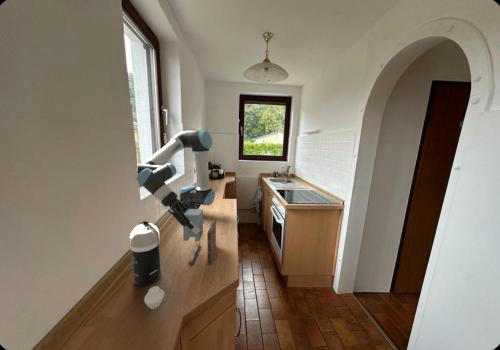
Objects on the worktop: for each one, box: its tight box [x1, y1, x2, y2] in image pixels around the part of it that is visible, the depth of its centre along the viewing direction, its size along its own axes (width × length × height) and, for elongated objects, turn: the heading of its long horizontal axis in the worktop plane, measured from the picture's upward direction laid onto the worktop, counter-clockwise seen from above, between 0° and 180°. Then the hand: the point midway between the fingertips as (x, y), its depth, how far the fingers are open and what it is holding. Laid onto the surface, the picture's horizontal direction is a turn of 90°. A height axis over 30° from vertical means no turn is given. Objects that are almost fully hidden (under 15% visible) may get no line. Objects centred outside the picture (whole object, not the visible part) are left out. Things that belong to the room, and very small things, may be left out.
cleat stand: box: [188, 218, 217, 266], centre depth 92 cm, size 16×10×16 cm, turn 2°
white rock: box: [143, 285, 165, 310], centre depth 63 cm, size 6×6×7 cm
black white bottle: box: [129, 220, 162, 287], centre depth 74 cm, size 10×10×25 cm
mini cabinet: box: [182, 208, 204, 242], centre depth 90 cm, size 8×8×13 cm
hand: (200, 228), depth 91 cm, fingers closed on mini cabinet, 8 cm apart
